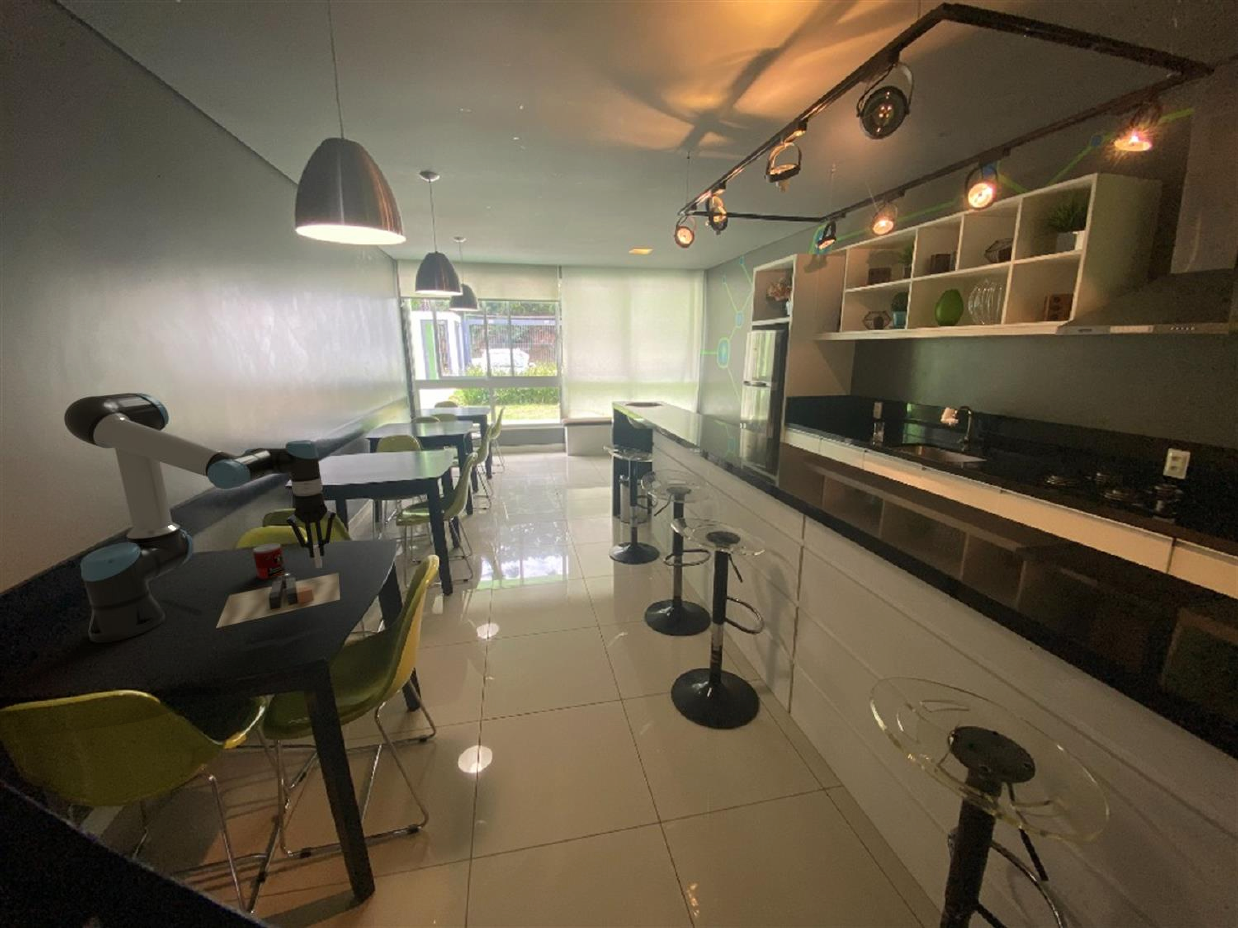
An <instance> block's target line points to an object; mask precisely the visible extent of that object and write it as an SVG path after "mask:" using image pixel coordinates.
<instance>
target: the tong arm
mask: <svg viewBox="0 0 1238 928" xmlns="http://www.w3.org/2000/svg"><path fill="white" fill-rule="evenodd" d="M286 587H287V589H286V591H287V599H288V604H289V605H293V604H297V603H298V597H297V586H296V576H294V577H293V576H292V577H291V578H288V579H286Z"/></svg>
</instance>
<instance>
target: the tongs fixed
mask: <svg viewBox="0 0 1238 928" xmlns="http://www.w3.org/2000/svg"><path fill="white" fill-rule="evenodd" d="M276 577H277V580H275V581H273V582H272V583H271V584H272V585H271V587H272V588H271V592H270V595H269V603H270V609H276V608H280V607H281V604H282V598H283V592H284V588H287V587H286V579H288V578H292V573H291V572H290V571H288V572H287V571H285V572H284V573H281V574H279V575H278V576H276Z"/></svg>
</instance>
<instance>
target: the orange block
mask: <svg viewBox="0 0 1238 928" xmlns="http://www.w3.org/2000/svg"><path fill="white" fill-rule="evenodd" d="M297 597H298V603H302V602H307V601H311V600H314V592H313V586H308V587H303V588H299V589H297Z"/></svg>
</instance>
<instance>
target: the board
mask: <svg viewBox="0 0 1238 928" xmlns="http://www.w3.org/2000/svg"><path fill="white" fill-rule="evenodd" d="M339 575H340V574H339V572H336V573H331V574H327V575H321V576H317V577H312V578H307V579H301V580H297V581H296V586H297V589H299V588H303V587H308V586H313V592H314V600H311V601H307V602H302V603H297V604H293V605H289V604H288V599H287V591H286V589H287V588H284V592H283V598H282V604H281V607H280V608H276V609H270V603H269V595H270V592H271V588H272V586H268V587H263V588H258V589H255V590H254V589H253V590H248V591H244V592H240V593H239V592H238V593H234V594H229V595H228V598H227V600H226V603H225V606H224V608H223V609H222V613H221V615H220V617H219V620H218V622H217V625H216V627H215V629H217V628H218V629H219V628H222V627H226V626H230V625H231V626H232V625H236V624H239V623H244V622H248V621H253V620H257V619H261V618H266V617H270V616H274V615H278V614H283V613H287V612H288V613H289V612H292V611H296V610H301V609H305V608H309V607H310V608H311V607H314V606H318V605H321V604H322V605H323V604H327V603H331V602H335V601H340V600H341V596H340V595H341V593H340V576H339Z"/></svg>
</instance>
